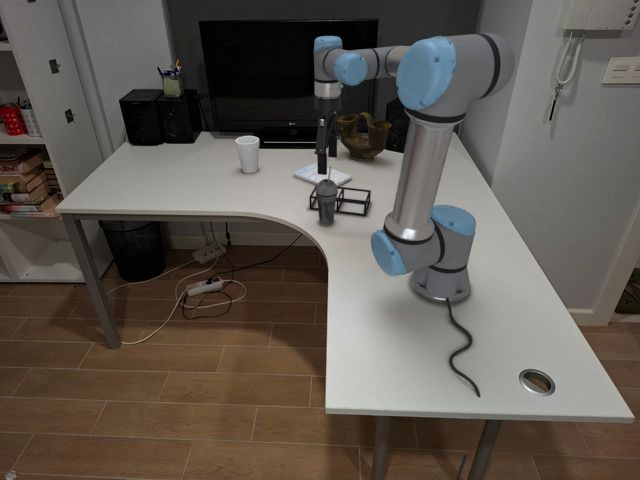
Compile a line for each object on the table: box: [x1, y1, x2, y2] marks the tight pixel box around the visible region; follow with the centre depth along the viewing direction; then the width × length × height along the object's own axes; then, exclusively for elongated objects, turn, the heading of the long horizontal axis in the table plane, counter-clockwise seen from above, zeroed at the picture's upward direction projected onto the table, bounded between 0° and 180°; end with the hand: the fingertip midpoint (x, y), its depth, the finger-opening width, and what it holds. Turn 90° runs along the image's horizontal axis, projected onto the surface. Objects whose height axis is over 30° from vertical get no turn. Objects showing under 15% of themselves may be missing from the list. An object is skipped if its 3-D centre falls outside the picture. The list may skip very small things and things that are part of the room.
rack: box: [308, 184, 372, 217], centre depth 157 cm, size 10×20×5 cm, turn 76°
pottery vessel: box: [337, 111, 393, 162], centre depth 190 cm, size 25×11×20 cm, turn 54°
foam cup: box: [234, 135, 260, 174], centre depth 181 cm, size 10×9×13 cm
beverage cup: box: [315, 166, 339, 226], centre depth 144 cm, size 7×7×20 cm
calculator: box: [293, 162, 352, 187], centre depth 178 cm, size 13×20×2 cm, turn 49°
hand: (327, 165), depth 138 cm, fingers open, 13 cm apart
